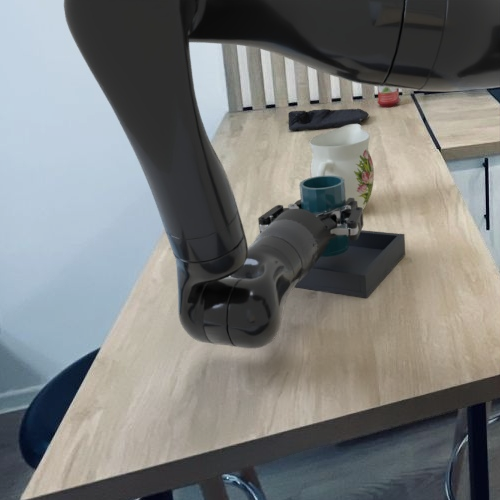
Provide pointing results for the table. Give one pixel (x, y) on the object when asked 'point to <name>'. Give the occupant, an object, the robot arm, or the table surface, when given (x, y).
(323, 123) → the folded dark cloth
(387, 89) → the liquor
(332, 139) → the pitcher
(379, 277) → the tray
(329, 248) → the tumbler
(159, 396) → the table surface
